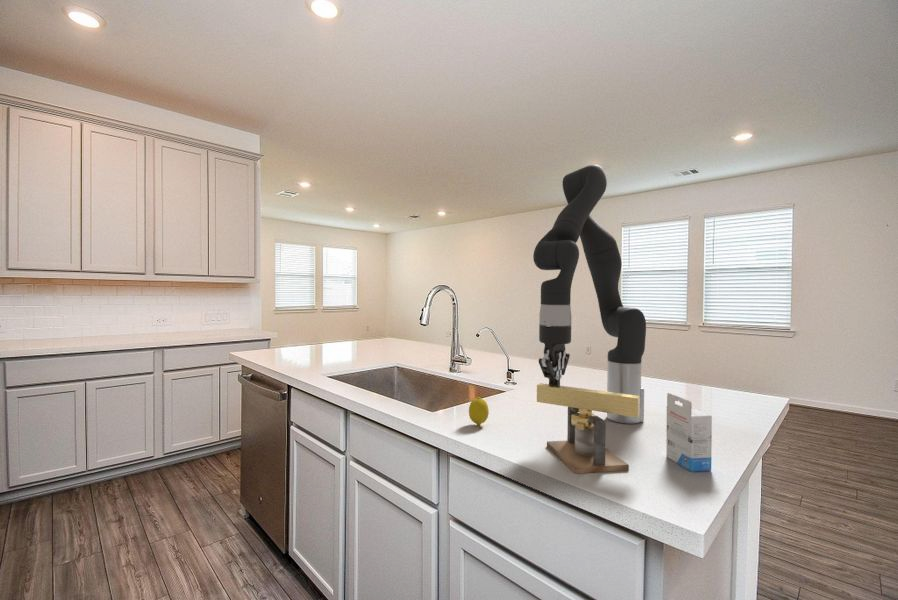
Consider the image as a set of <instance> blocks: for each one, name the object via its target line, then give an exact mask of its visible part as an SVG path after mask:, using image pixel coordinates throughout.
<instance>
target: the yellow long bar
mask: <svg viewBox="0 0 898 600" xmlns="http://www.w3.org/2000/svg"><path fill="white" fill-rule="evenodd" d="M536 403H542V404H549V405H555V406H562V407H567V408H568V407H573V408H579V412H578V413H574V414H572V415H571V424H572V425H573V426H575V427H576V429H579V430H584V429H594V424H592V423H591V422H589V421H588V416H597V414H595V413H593V412H599V413H606V414H607V413H612V414H618V415H625V416H631V417H638V416H639V415H640V396H637V395H629V394H622V393H614V392H607V390H605V391H604V390H597V389H588V388H582V387H581V388H580V387H574V386H565V385H560V386H559V385H551V384H549V383H541V382H539V383H538V384H536Z"/></svg>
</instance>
